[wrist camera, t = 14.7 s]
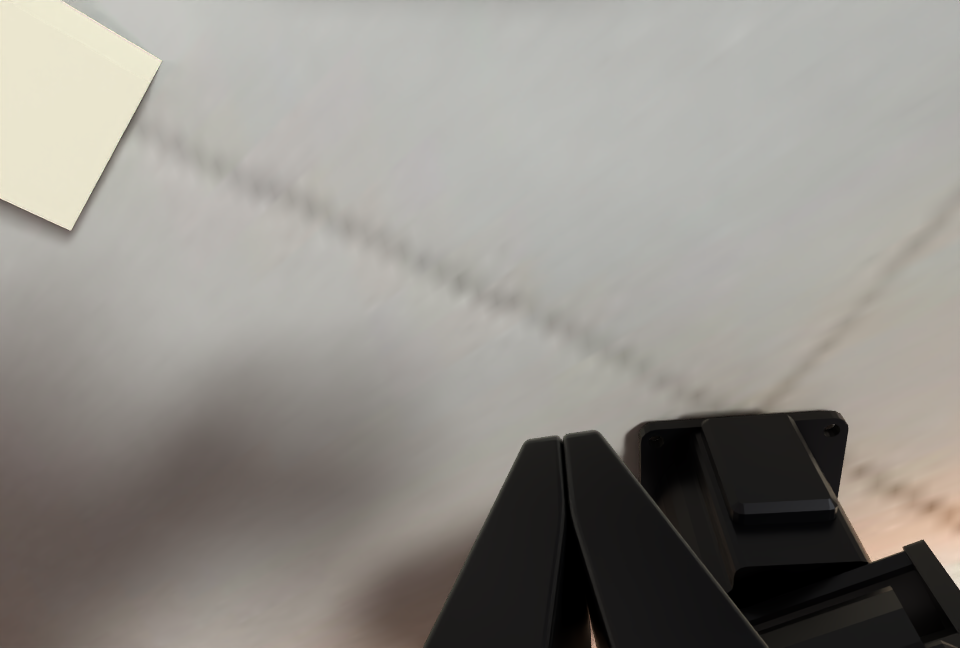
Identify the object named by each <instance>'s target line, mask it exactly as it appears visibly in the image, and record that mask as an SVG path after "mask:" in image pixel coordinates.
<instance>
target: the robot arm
mask: <svg viewBox="0 0 960 648" xmlns="http://www.w3.org/2000/svg"><path fill="white" fill-rule="evenodd" d="M832 424H835V425H834V426H833V427H832V428H831V429H827V430H826V429H825V428H826V427H827V426H828V425H832ZM847 435H848V424H847V423H846V421H845V420H844V418H843V417H842V415H841V414H840V413H838V412H836V411H815V412H800V413H781V414H765V415H750V416H735V417H720V418H709V419H693V420H678V421H663V422H652V423H648V424H646V425H645V426H643V427H642V429H641V430H640V432H639V481H638V480H637V479H636V478H635V476H634V475H633V474H632V472H631V471H630V470H629V469H628V467H627V466H626V465H625V464H624V462H623V461H622V460H621V458H620V457H619V456H618V455H617V453H616V452H615V451H614V450H613V448H612V447H611V446H610V444H609V443H608V442H607V441H606V439H605V438H604V437H603V436H602V434H601V433H599V432H598V431H596V430H590V431H583V432H576V433H569V434H566V435H565V436H564V437H563V442H562V439H561V438H560V437H558V436H548V437H541V438H534V439H529V440H527V441H526V442H525V443H524V444H523V446H522V448H521V450H520V452H519V454H518V456H517V458H516V460H515V462H514V464H513V466H512V468H511V470H510V472H509V474H508V476H507V478H506V480H505V482H504V484H503V486H502V488H501V490H500V492H499V494H498V496H497V498H496V500H495V502H494V504H493V506H492V508H491V510H490V513H489V515H488V517H487V519H486V521H485V523H484V525H483V527H482V529H481V531H480V533H479V535H478V537H477V539H476V541H475V543H474V545H473V547H472V549H471V551H470V553H469V555H468V557H467V559H466V561H465V563H464V565H463V567H462V569H461V571H460V573H459V575H458V577H457V580H456V582H455V584H454V586H453V588H452V590H451V592H450V594H449V596H448V598H447V600H446V602H445V604H444V606H443V608H442V610H441V612H440V614H439V616H438V618H437V620H436V622H435V624H434V626H433V628H432V630H431V632H430V634H429V636H428V638H427V640H426V642H425V645H424V647H423V648H591V629H590V620H591V624H592V629H593V634H594V638H595V642H596V646H597V648H960V590H959V588H958V587H957V586H956V584H955V583H954V581H953V580H952V579H951V577H950V576H949V575H948V573H947V572H946V570H945V569H944V568H943V566H942V565H941V563H940V562H939V561H938V559H937V558H936V556H935V555H934V554H933V552H932V551H931V549H930V548H929V547H928V545H927V544H926V543H925V541H924V540H920V541H918V542H915V543H912V544H909V545H907V546H904V547H902V548H903V550H904V551H902V552H899V553H896V554H893V555H891V556H888V557H885V558H882V559H879V560H877V561H874V562H871V560H870V558H869V556H868V554H867V553H866V551H865V549H864V547H863V545H862V543H861V541H860V540H859V538H858V536H857V534H856V532H855V530H854V529H853V527H852V525H851V523H850V521H849V519H848V518H847V516H846V514H845V512H844V510H843V508H842V507H841V505H840V503H839V501H838V499H837V498H838V492H839V485H840V479H841V473H842V467H843V460H844V454H845V448H846V442H847ZM653 436H661V438H659V439H658V440H650V438H651V437H653ZM589 615H590V619H589Z"/></svg>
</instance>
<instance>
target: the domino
mask: <svg viewBox="0 0 960 648" xmlns="http://www.w3.org/2000/svg"><path fill="white" fill-rule="evenodd" d="M161 62H162V61H161V60H160V59H158V58H156V57H155V56H153V55H151V54H150V53H148V52H146V51H145V50H143V49H141V48H140V47H138V46H136V45H135V44H133V43H131V42H130V41H128V40H126V39H125V38H123V37H121V36H120V35H118V34H116V33H115V32H113V31H111V30H110V29H108V28H106V27H105V26H103V25H101V24H100V23H98V22H96V21H95V20H93V19H91V18H90V17H88V16H86V15H85V14H83V13H81V12H80V11H78V10H76V9H75V8H73V7H71V6H70V5H68V4H66V3H65V2H63V1H61V0H0V199H2V200H5V201H7V202H9V203H11V204H13V205H15V206H18V207H20V208H22V209H24V210H26V211H29V212H31V213H33V214H35V215H37V216H39V217H42V218H44V219H46V220H48V221H50V222H53V223H55V224H57V225H59V226H61V227H63V228H66V229H68V230H70V231H71V229H72V228H73V226H74V224H75V222H76V220H77V218H78V216H79V215H80V213H81V211H82V209H83V207H84V205H85V203H86V202H87V200H88V198H89V196H90V194H91V192H92V190H93V189H94V187H95V185H96V183H97V181H98V179H99V177H100V176H101V174H102V172H103V170H104V168H105V166H106V164H107V163H108V161H109V159H110V157H111V155H112V153H113V151H114V149H115V148H116V146H117V144H118V142H119V140H120V138H121V136H122V135H123V133H124V131H125V129H126V127H127V125H128V123H129V122H130V120H131V118H132V116H133V114H134V112H135V110H136V109H137V107H138V105H139V103H140V101H141V99H142V97H143V96H144V94H145V92H146V90H147V88H148V86H149V84H150V83H151V81H152V79H153V77H154V75H155V73H156V71H157V70H158V68H159V66H160V64H161Z"/></svg>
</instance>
